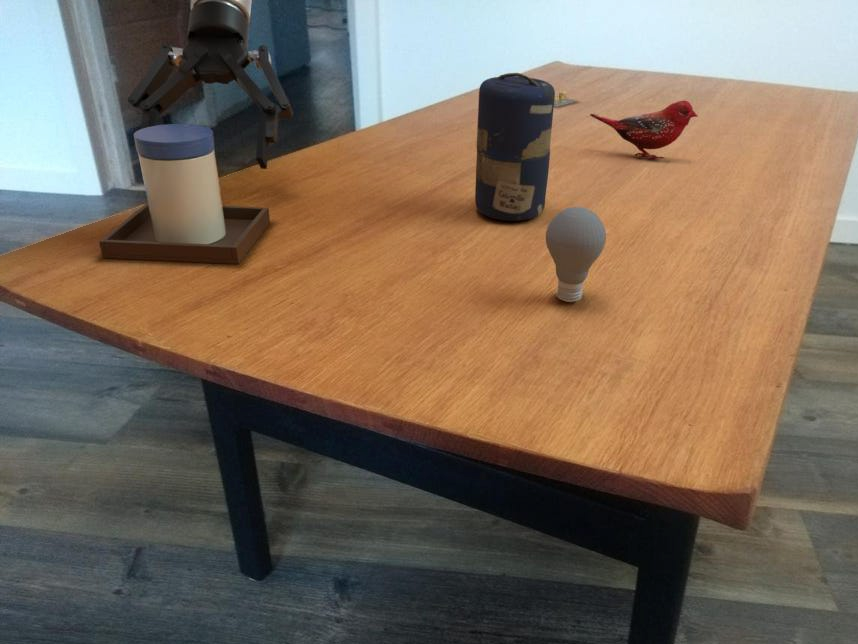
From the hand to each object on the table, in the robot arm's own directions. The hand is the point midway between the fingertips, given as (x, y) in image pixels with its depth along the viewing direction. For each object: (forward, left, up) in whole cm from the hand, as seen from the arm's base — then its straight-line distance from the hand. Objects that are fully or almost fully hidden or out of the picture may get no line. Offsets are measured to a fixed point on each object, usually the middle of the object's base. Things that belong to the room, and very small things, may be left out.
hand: (206, 162), depth 94 cm
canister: (+39, +4, -6) cm, 39 cm away
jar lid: (+1, -10, +6) cm, 11 cm away
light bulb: (+45, -22, -6) cm, 50 cm away
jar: (+1, -10, -6) cm, 11 cm away
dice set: (+49, +78, -7) cm, 92 cm away
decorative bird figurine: (+61, +35, -7) cm, 70 cm away
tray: (+1, -10, -6) cm, 12 cm away
